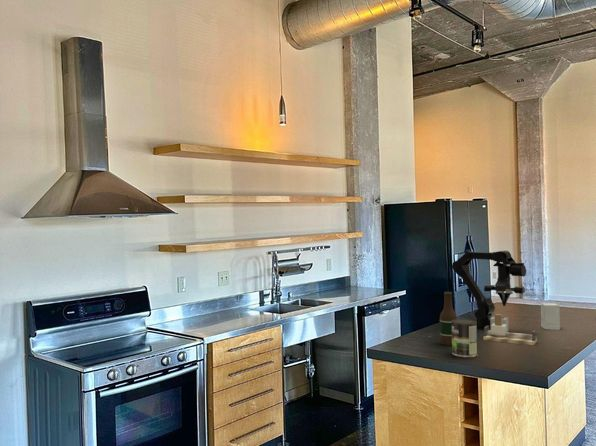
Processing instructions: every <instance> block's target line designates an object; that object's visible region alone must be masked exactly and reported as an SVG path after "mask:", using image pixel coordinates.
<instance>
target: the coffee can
mask: <svg viewBox="0 0 596 446" xmlns="http://www.w3.org/2000/svg"><path fill="white" fill-rule="evenodd" d="M451 323H452V346H451V354H452V355H453V356H455V357H460V358H474V357H477V356H478V351H477V347H478V346H477V344H478V343H477V341H478V340H477V329H476V327H477V320H473V319H467V318H457V319H454V320H452V321H451Z"/></svg>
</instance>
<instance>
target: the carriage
mask: <svg viewBox="0 0 596 446" xmlns="http://www.w3.org/2000/svg"><path fill="white" fill-rule="evenodd" d="M494 316H495V323H493V324H492V325H491V328H490V331H491V334H494V335H504V336H505V332H506V331H507V325H506V324H503V317H504V316H503V314H502V313H495V314H494Z"/></svg>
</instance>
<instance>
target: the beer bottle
mask: <svg viewBox="0 0 596 446" xmlns="http://www.w3.org/2000/svg"><path fill="white" fill-rule="evenodd" d="M443 295H444V297H443V298H444V299H443V300H444V301H443V309H442V311H441V312H440V314H439V340H440V341H439V342H440V344H441V345H443V346H447V347H448V346H449V347H450V346H451V347H452V323H451V321H452V320H454V319H458V316H457V314H456V312H455V310H454V308H453V297H452V296H453V293H452V291H444V292H443Z"/></svg>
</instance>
